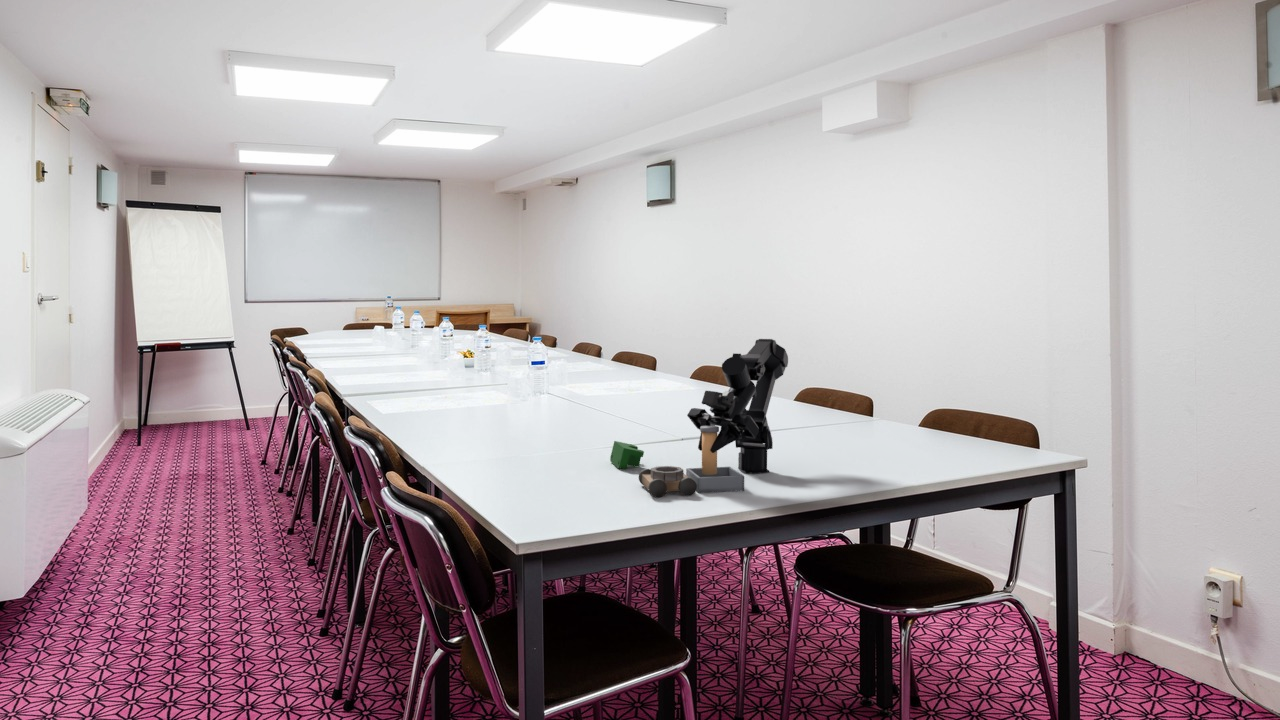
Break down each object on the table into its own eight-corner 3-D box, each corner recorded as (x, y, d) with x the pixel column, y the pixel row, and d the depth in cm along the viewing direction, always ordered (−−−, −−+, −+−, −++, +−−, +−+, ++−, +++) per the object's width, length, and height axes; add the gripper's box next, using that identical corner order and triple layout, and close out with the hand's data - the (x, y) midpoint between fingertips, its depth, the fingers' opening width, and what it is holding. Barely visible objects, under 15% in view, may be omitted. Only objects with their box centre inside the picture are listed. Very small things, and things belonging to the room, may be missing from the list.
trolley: (683, 483, 199) (683, 463, 199) (696, 495, 187) (696, 473, 187) (638, 485, 197) (638, 464, 197) (649, 497, 185) (649, 475, 184)
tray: (729, 480, 202) (729, 466, 202) (744, 490, 192) (744, 476, 191) (686, 482, 200) (686, 468, 200) (698, 493, 189) (698, 478, 189)
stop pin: (715, 470, 197) (715, 425, 197) (721, 474, 193) (721, 428, 192) (697, 471, 197) (698, 425, 196) (703, 475, 192) (703, 428, 191)
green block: (635, 484, 218) (646, 456, 215) (613, 479, 217) (624, 451, 213) (629, 459, 229) (640, 431, 225) (609, 454, 227) (619, 427, 224)
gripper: (692, 375, 203) (660, 424, 196) (751, 381, 189) (718, 434, 182) (714, 404, 209) (683, 453, 202) (772, 411, 195) (741, 464, 188)
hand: (705, 450), depth 193 cm, fingers closed on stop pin, 3 cm apart
